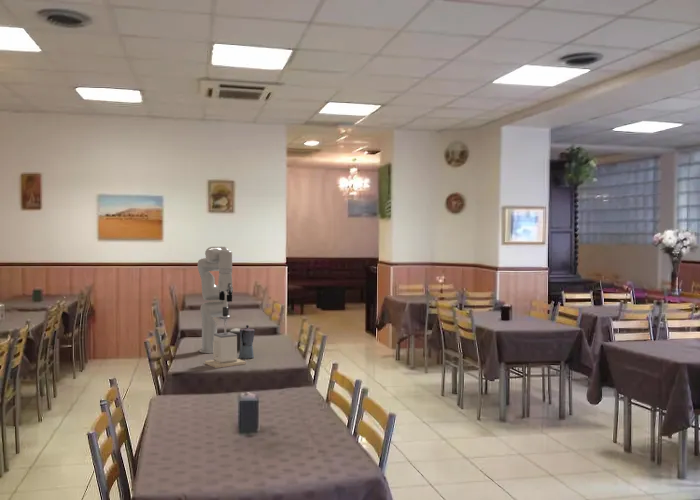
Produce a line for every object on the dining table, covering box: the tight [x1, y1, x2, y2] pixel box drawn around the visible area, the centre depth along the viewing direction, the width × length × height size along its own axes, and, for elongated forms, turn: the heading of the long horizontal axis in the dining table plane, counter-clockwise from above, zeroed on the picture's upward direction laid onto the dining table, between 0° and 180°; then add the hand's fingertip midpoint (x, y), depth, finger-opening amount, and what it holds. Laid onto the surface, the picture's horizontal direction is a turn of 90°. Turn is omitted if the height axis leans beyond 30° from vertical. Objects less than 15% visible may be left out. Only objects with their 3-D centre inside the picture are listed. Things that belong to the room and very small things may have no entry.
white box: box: [204, 331, 247, 369], centre depth 384 cm, size 15×19×18 cm
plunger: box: [220, 306, 231, 335], centre depth 384 cm, size 8×8×23 cm
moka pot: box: [238, 324, 255, 360], centre depth 401 cm, size 10×15×20 cm, turn 174°
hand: (225, 300), depth 383 cm, fingers open, 9 cm apart
